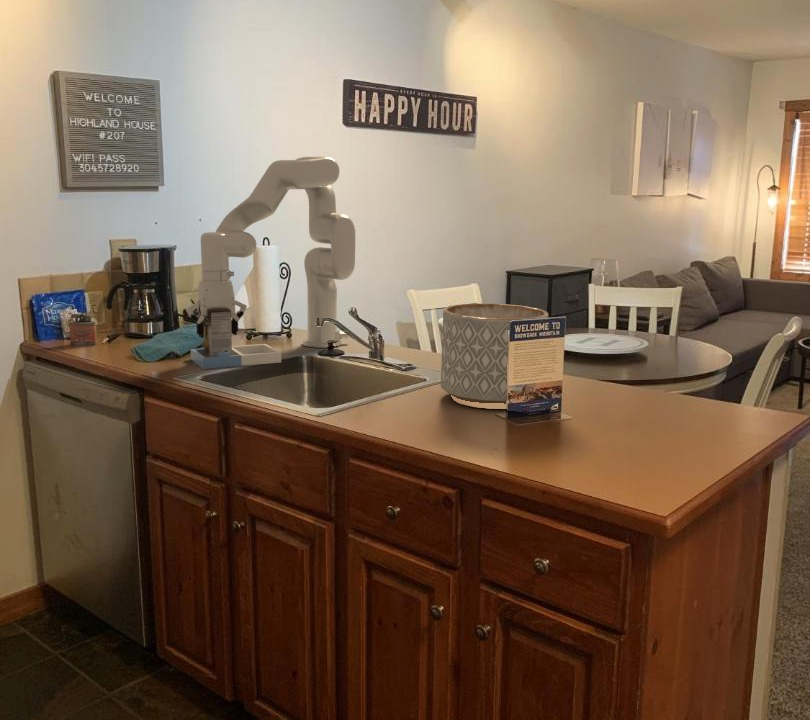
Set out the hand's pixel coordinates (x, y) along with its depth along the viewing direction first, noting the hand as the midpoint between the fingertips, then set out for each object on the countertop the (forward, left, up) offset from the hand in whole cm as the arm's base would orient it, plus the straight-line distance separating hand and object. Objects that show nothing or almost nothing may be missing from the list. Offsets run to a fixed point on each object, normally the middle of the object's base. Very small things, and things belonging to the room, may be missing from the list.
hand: (217, 335), depth 230 cm
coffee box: (0, 0, -8) cm, 8 cm away
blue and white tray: (-5, 0, -8) cm, 9 cm away
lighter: (+32, -40, -8) cm, 52 cm away
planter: (-50, +67, -8) cm, 84 cm away
